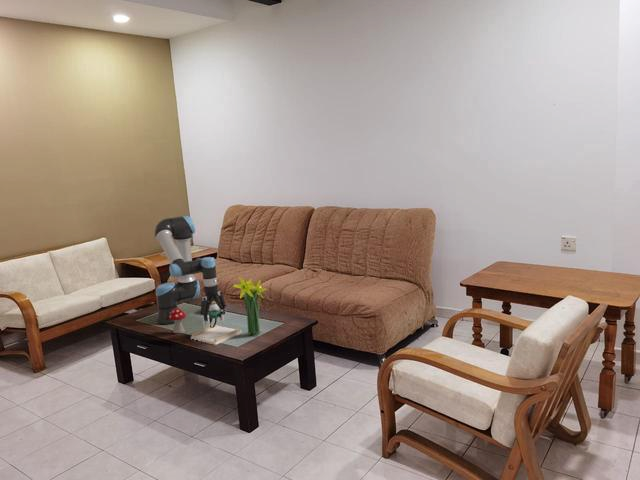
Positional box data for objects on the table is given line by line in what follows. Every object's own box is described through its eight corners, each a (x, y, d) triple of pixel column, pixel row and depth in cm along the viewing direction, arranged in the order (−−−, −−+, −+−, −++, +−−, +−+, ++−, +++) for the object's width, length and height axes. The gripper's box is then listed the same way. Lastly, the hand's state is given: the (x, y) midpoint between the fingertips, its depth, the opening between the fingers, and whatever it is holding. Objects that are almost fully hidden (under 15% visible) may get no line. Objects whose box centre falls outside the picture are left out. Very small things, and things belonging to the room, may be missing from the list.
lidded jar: (210, 309, 342) (208, 296, 340) (225, 309, 339) (223, 295, 338) (203, 314, 331) (201, 300, 330) (218, 314, 329) (217, 300, 327)
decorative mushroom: (190, 330, 302) (187, 306, 299) (183, 335, 294) (180, 310, 291) (174, 330, 304) (171, 306, 301) (167, 335, 295) (164, 311, 293)
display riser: (190, 339, 287) (190, 334, 286) (217, 328, 303) (216, 323, 302) (215, 344, 275) (215, 340, 275) (241, 332, 291) (240, 328, 291)
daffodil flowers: (258, 327, 298) (252, 269, 293) (274, 332, 288) (269, 272, 282) (235, 336, 287) (228, 275, 281) (251, 341, 276) (245, 279, 271)
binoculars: (221, 329, 283) (219, 312, 281) (203, 329, 285) (201, 312, 283) (227, 324, 291) (225, 307, 290) (210, 324, 294) (208, 307, 292)
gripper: (199, 290, 273) (204, 330, 277) (229, 280, 291) (233, 318, 294) (190, 289, 277) (195, 328, 281) (220, 279, 295) (224, 316, 299)
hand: (214, 323), depth 288 cm, fingers closed on binoculars, 10 cm apart
